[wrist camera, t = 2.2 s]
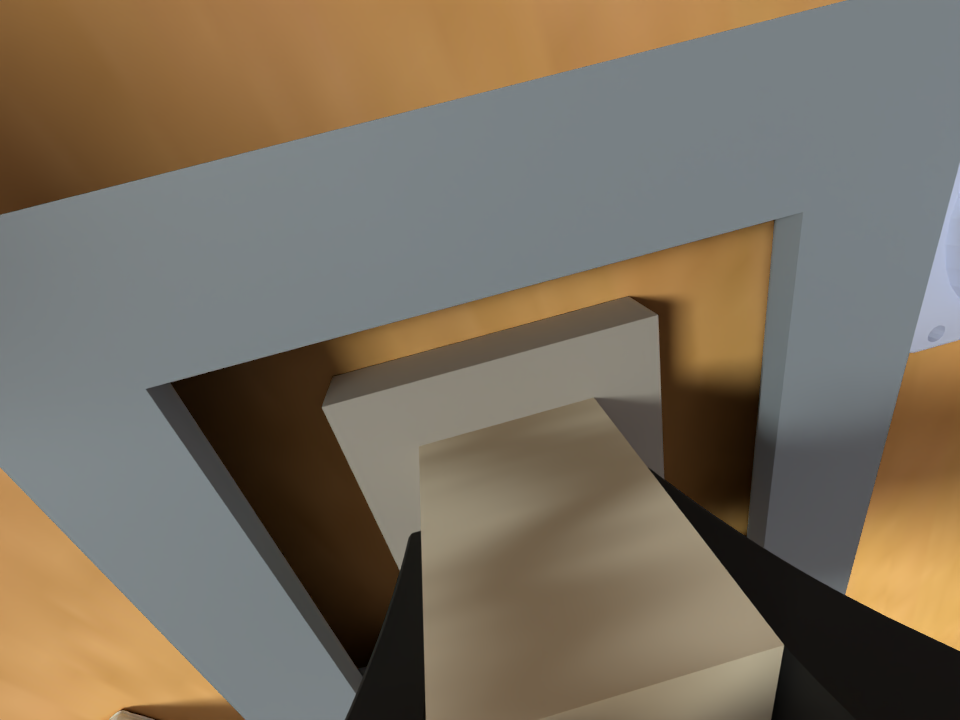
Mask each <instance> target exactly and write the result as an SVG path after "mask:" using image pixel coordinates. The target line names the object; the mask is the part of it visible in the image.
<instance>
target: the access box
mask: <svg viewBox="0 0 960 720" xmlns="http://www.w3.org/2000/svg"><path fill="white" fill-rule="evenodd" d="M959 163H960V0H847V1H843V2H839V3H835V4H831V5H827V6H823V7H819V8H815V9H811V10H807V11H803V12H799V13H795V14H791V15H787V16H784V17H780V18H776V19H772V20H768V21H764V22H760V23H756V24H752V25H748V26H744V27H740V28H736V29H732V30H728V31H724V32H720V33H716V34H712V35H708V36H705V37H701V38H697V39H693V40H689V41H685V42H681V43H677V44H673V45H669V46H665V47H661V48H657V49H653V50H649V51H645V52H641V53H637V54H633V55H630V56H626V57H622V58H618V59H614V60H610V61H606V62H602V63H598V64H594V65H590V66H586V67H582V68H578V69H574V70H570V71H566V72H562V73H558V74H555V75H551V76H547V77H543V78H539V79H535V80H531V81H527V82H523V83H519V84H515V85H511V86H507V87H503V88H499V89H495V90H491V91H487V92H483V93H480V94H476V95H472V96H468V97H464V98H460V99H456V100H452V101H448V102H444V103H440V104H436V105H432V106H428V107H424V108H420V109H416V110H412V111H408V112H404V113H401V114H397V115H393V116H389V117H385V118H381V119H377V120H373V121H369V122H365V123H361V124H357V125H353V126H349V127H345V128H341V129H337V130H333V131H329V132H326V133H322V134H318V135H314V136H310V137H306V138H302V139H298V140H294V141H290V142H286V143H282V144H278V145H274V146H270V147H266V148H262V149H258V150H254V151H251V152H247V153H243V154H239V155H235V156H231V157H227V158H223V159H219V160H215V161H211V162H207V163H203V164H199V165H195V166H191V167H187V168H183V169H179V170H176V171H172V172H168V173H164V174H160V175H156V176H152V177H148V178H144V179H140V180H136V181H132V182H128V183H124V184H120V185H116V186H112V187H108V188H104V189H100V190H97V191H93V192H89V193H85V194H81V195H77V196H73V197H69V198H65V199H61V200H57V201H53V202H49V203H45V204H41V205H37V206H33V207H29V208H25V209H22V210H18V211H14V212H10V213H6V214H2V215H0V468H1V469H2V470H3V471H4V472H5V473H6V474H7V475H8V476H9V477H10V478H11V479H12V480H13V481H14V482H15V483H16V484H17V485H18V486H19V487H20V488H21V489H22V490H23V491H24V492H25V493H26V494H27V495H28V496H29V497H30V498H31V499H32V500H33V501H34V503H35V504H36V505H37V506H38V507H39V508H40V509H41V510H42V511H43V512H44V513H45V514H46V515H47V516H48V517H49V518H50V519H51V520H52V521H53V522H54V523H55V524H56V525H57V526H58V527H59V528H60V529H61V530H62V531H63V532H64V533H65V534H66V535H67V537H68V538H69V539H70V540H71V541H72V542H73V543H74V544H75V545H76V546H77V547H78V548H79V549H80V550H81V551H82V552H83V553H84V554H85V555H86V556H87V557H88V558H89V559H90V560H91V561H92V562H93V563H94V564H95V565H96V566H97V567H98V568H99V569H100V570H101V572H102V573H103V574H104V575H105V576H106V577H107V578H108V579H109V580H110V581H111V582H112V583H113V584H114V585H115V586H116V587H117V588H118V589H119V590H120V591H121V592H122V593H123V594H124V595H125V596H126V597H127V598H128V599H129V600H130V601H131V602H132V603H133V604H134V605H135V607H136V608H137V609H138V610H139V611H140V612H141V613H142V614H143V615H144V616H145V617H146V618H147V619H148V620H149V621H150V622H151V623H152V624H153V625H154V626H155V627H156V628H157V629H158V630H159V631H160V632H161V633H162V634H163V635H164V636H165V637H166V638H167V639H168V640H169V642H170V643H171V644H172V645H173V646H174V647H175V648H176V649H177V650H178V651H179V652H180V653H181V654H182V655H183V656H184V657H185V658H186V659H187V660H188V661H189V662H190V663H191V664H192V665H193V666H194V667H195V668H196V669H197V670H198V671H199V672H200V673H201V674H202V676H203V677H204V678H205V679H206V680H207V681H208V682H209V683H210V684H211V685H212V686H213V687H214V688H215V689H216V690H217V691H218V692H219V693H220V694H221V695H222V696H223V697H224V698H225V699H226V700H227V701H228V702H229V703H230V704H231V705H232V706H233V707H234V708H235V709H236V711H237V712H238V713H239V714H240V715H241V716H242V717H243V718H244V719H245V720H345V718H346V716H347V714H348V711H349V709H350V707H351V705H352V702H353V700H354V697H355V695H356V693H357V690H358V688H359V686H360V683H361V681H362V678H363V676H364V673H365V670H366V668H367V666H366V667H362V668H359V669H357V668H356V666H355V665H354V663H353V662H352V660H351V658H350V657H349V655H348V654H347V652H346V651H345V649H344V648H343V646H342V645H341V643H340V642H339V640H338V639H337V637H336V636H335V634H334V632H333V631H332V629H331V628H330V626H329V625H328V623H327V622H326V620H325V619H324V617H323V616H322V614H321V613H320V611H319V610H318V608H317V606H316V605H315V603H314V602H313V600H312V599H311V597H310V596H309V594H308V593H307V591H306V590H305V588H304V587H303V585H302V584H301V582H300V581H299V579H298V577H297V576H296V574H295V573H294V571H293V570H292V568H291V567H290V565H289V564H288V562H287V561H286V559H285V558H284V556H283V555H282V553H281V551H280V550H279V548H278V547H277V545H276V544H275V542H274V541H273V539H272V538H271V536H270V535H269V533H268V532H267V530H266V529H265V527H264V525H263V524H262V522H261V521H260V519H259V518H258V516H257V515H256V513H255V512H254V510H253V509H252V507H251V506H250V504H249V503H248V501H247V500H246V498H245V496H244V495H243V493H242V492H241V490H240V489H239V487H238V486H237V484H236V483H235V481H234V480H233V478H232V477H231V475H230V474H229V472H228V470H227V469H226V467H225V466H224V464H223V463H222V461H221V460H220V458H219V457H218V455H217V454H216V452H215V451H214V449H213V448H212V446H211V444H210V443H209V441H208V440H207V438H206V437H205V435H204V434H203V432H202V431H201V429H200V428H199V426H198V425H197V423H196V422H195V420H194V419H193V417H192V415H191V414H190V412H189V411H188V409H187V408H186V406H185V405H184V403H183V402H182V400H181V399H180V397H179V396H178V394H177V393H176V391H175V389H174V388H173V386H172V385H171V383H170V382H174V381H177V380H181V379H185V378H188V377H192V376H196V375H200V374H203V373H207V372H211V371H214V370H218V369H222V368H226V367H229V366H233V365H237V364H240V363H244V362H248V361H252V360H255V359H259V358H263V357H266V356H270V355H274V354H278V353H281V352H285V351H289V350H292V349H296V348H300V347H304V346H307V345H311V344H315V343H318V342H322V341H326V340H330V339H333V338H337V337H341V336H344V335H348V334H352V333H356V332H359V331H363V330H367V329H370V328H374V327H378V326H382V325H385V324H389V323H393V322H396V321H400V320H404V319H408V318H411V317H415V316H419V315H422V314H426V313H430V312H434V311H437V310H441V309H445V308H448V307H452V306H456V305H460V304H463V303H467V302H471V301H474V300H478V299H482V298H486V297H489V296H493V295H497V294H500V293H504V292H508V291H512V290H515V289H519V288H523V287H526V286H530V285H534V284H538V283H541V282H545V281H549V280H552V279H556V278H560V277H564V276H567V275H571V274H575V273H578V272H582V271H586V270H590V269H593V268H597V267H601V266H604V265H608V264H612V263H616V262H619V261H623V260H627V259H630V258H634V257H638V256H642V255H645V254H649V253H653V252H656V251H660V250H664V249H668V248H671V247H675V246H679V245H682V244H686V243H690V242H694V241H697V240H701V239H705V238H708V237H712V236H716V235H720V234H723V233H727V232H731V231H734V230H738V229H742V228H746V227H749V226H753V225H757V224H760V223H764V222H768V221H772V220H775V221H774V232H773V244H772V255H771V266H770V278H769V289H768V301H767V312H766V323H765V335H764V346H763V357H762V369H761V380H760V391H759V403H758V414H757V425H756V437H755V448H754V460H753V471H752V482H751V494H750V505H749V516H748V528H747V538H749V539H750V540H752V541H754V542H755V543H757V544H758V545H760V546H761V547H763V548H765V549H766V550H768V551H770V552H771V553H773V554H774V555H776V556H778V557H779V558H781V559H783V560H784V561H786V562H787V563H789V564H791V565H793V566H794V567H796V568H798V569H799V570H801V571H803V572H804V573H806V574H808V575H810V576H811V577H813V578H815V579H817V580H818V581H820V582H822V583H824V584H826V585H828V586H829V587H831V588H833V589H835V590H837V591H839V592H840V593H842V594H844V595H845V593H846V589H847V585H848V582H849V578H850V574H851V570H852V567H853V563H854V559H855V555H856V551H857V548H858V544H859V540H860V536H861V533H862V529H863V525H864V521H865V518H866V514H867V510H868V506H869V502H870V499H871V495H872V491H873V487H874V484H875V480H876V476H877V472H878V469H879V465H880V461H881V457H882V454H883V450H884V446H885V442H886V438H887V435H888V431H889V427H890V423H891V420H892V416H893V412H894V408H895V405H896V401H897V397H898V393H899V389H900V386H901V382H902V378H903V374H904V371H905V367H906V363H907V359H908V356H909V352H910V348H911V344H912V341H913V337H914V333H915V329H916V325H917V322H918V318H919V314H920V310H921V307H922V303H923V299H924V295H925V292H926V288H927V284H928V280H929V276H930V273H931V269H932V265H933V261H934V258H935V254H936V250H937V246H938V243H939V239H940V235H941V231H942V227H943V224H944V220H945V216H946V212H947V209H948V205H949V201H950V197H951V194H952V190H953V186H954V182H955V179H956V175H957V171H958V167H959ZM590 398H595V400H596V401H597V402H598V404H599V405H600V406H601V407H602V409H603V410H604V411H605V413H606V414H607V415H608V417H609V418H610V419H611V420H612V422H613V423H614V424H615V426H616V427H617V428H618V430H619V431H620V432H621V434H622V435H623V436H624V437H625V439H626V440H627V441H628V443H629V444H630V445H631V447H632V448H633V449H634V450H635V452H636V453H637V454H638V456H639V457H640V458H641V460H642V461H643V462H644V463H645V465H646V466H647V467H648V468H650V469H652V470H653V471H654V472H655V473H657V474H658V475H659V476H661V477H662V478H663V479H664V458H663V431H662V404H661V377H660V351H659V324H658V315H657V314H656V313H654V312H653V311H651V310H649V309H648V308H646V307H645V306H643V305H641V304H640V303H638V302H637V301H635V300H634V299H632V298H630V297H629V296H628V297H624V298H620V299H617V300H613V301H609V302H606V303H602V304H598V305H595V306H591V307H587V308H584V309H580V310H576V311H573V312H569V313H565V314H562V315H558V316H554V317H551V318H547V319H543V320H540V321H536V322H532V323H528V324H525V325H521V326H517V327H514V328H510V329H506V330H503V331H499V332H495V333H492V334H488V335H484V336H481V337H477V338H473V339H470V340H466V341H462V342H459V343H455V344H451V345H448V346H444V347H440V348H437V349H433V350H429V351H426V352H422V353H418V354H415V355H411V356H407V357H404V358H400V359H396V360H393V361H389V362H385V363H382V364H378V365H374V366H370V367H367V368H363V369H359V370H356V371H352V372H348V373H345V374H341V375H337V376H334V377H332V380H331V383H330V386H329V388H328V391H327V394H326V397H325V399H324V402H323V405H322V409H323V411H324V413H325V415H326V417H327V420H328V422H329V424H330V426H331V428H332V430H333V432H334V434H335V436H336V438H337V440H338V443H339V445H340V447H341V449H342V451H343V453H344V455H345V457H346V459H347V461H348V463H349V466H350V468H351V470H352V472H353V474H354V476H355V478H356V480H357V482H358V484H359V486H360V489H361V491H362V493H363V495H364V497H365V499H366V501H367V503H368V505H369V507H370V509H371V512H372V514H373V516H374V518H375V520H376V522H377V524H378V526H379V528H380V530H381V532H382V535H383V537H384V539H385V541H386V543H387V545H388V547H389V549H390V551H391V553H392V555H393V558H394V560H395V562H396V564H397V566H398V568H399V570H400V569H401V565H402V562H403V558H404V554H405V550H406V546H407V542H408V538H409V536H410V535H411V533H414V532H418V531H421V509H420V470H419V446H422V445H425V444H429V443H433V442H436V441H440V440H443V439H447V438H451V437H454V436H458V435H461V434H465V433H468V432H472V431H476V430H479V429H483V428H486V427H490V426H493V425H497V424H501V423H504V422H508V421H511V420H515V419H519V418H522V417H526V416H529V415H533V414H536V413H540V412H544V411H547V410H551V409H554V408H558V407H561V406H565V405H569V404H572V403H576V402H579V401H583V400H587V399H590Z"/></svg>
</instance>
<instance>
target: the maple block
mask: <svg viewBox="0 0 960 720" xmlns="http://www.w3.org/2000/svg"><path fill="white" fill-rule="evenodd" d="M419 470H420V509H421V549H422V588H423V627H424V666H425V705H426V720H771V717H772V711H773V706H774V700H775V694H776V689H777V683H778V677H779V672H780V666H781V660H782V655H783V649H784V644H783V643H782V642H781V640H780V639H779V638H778V636H777V635H776V634H775V633H774V631H773V630H772V629H771V627H770V626H769V625H768V623H767V622H766V621H765V620H764V618H763V617H762V616H761V614H760V613H759V612H758V610H757V609H756V608H755V607H754V605H753V604H752V603H751V601H750V600H749V599H748V597H747V596H746V595H745V594H744V592H743V591H742V590H741V588H740V587H739V586H738V584H737V583H736V582H735V581H734V579H733V578H732V577H731V575H730V574H729V573H728V571H727V570H726V569H725V567H724V566H723V565H722V564H721V562H720V561H719V560H718V558H717V557H716V556H715V554H714V553H713V552H712V551H711V549H710V548H709V547H708V545H707V544H706V543H705V541H704V540H703V539H702V538H701V536H700V535H699V534H698V532H697V531H696V530H695V528H694V527H693V526H692V525H691V523H690V522H689V521H688V519H687V518H686V517H685V515H684V514H683V513H682V512H681V510H680V509H679V508H678V506H677V505H676V504H675V502H674V501H673V500H672V499H671V497H670V496H669V495H668V493H667V492H666V491H665V489H664V488H663V487H662V486H661V484H660V483H659V482H658V480H657V479H656V478H655V476H654V475H653V474H652V473H651V471H650V470H649V469H648V467H647V466H646V465H645V463H644V462H643V461H642V460H641V458H640V457H639V456H638V454H637V453H636V452H635V450H634V449H633V448H632V447H631V445H630V444H629V443H628V441H627V440H626V439H625V437H624V436H623V435H622V434H621V432H620V431H619V430H618V428H617V427H616V426H615V424H614V423H613V422H612V420H611V419H610V418H609V417H608V415H607V414H606V413H605V411H604V410H603V409H602V407H601V406H600V405H599V404H598V402H597V401H596V400H595V398H590V399H587V400H583V401H579V402H576V403H572V404H569V405H565V406H561V407H558V408H554V409H551V410H547V411H544V412H540V413H536V414H533V415H529V416H526V417H522V418H519V419H515V420H511V421H508V422H504V423H501V424H497V425H493V426H490V427H486V428H483V429H479V430H476V431H472V432H468V433H465V434H461V435H458V436H454V437H451V438H447V439H443V440H440V441H436V442H433V443H429V444H425V445H422V446H419Z"/></svg>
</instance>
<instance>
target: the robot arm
mask: <svg viewBox="0 0 960 720" xmlns="http://www.w3.org/2000/svg"><path fill="white" fill-rule="evenodd" d="M957 340H960V163H959V167H958V171H957V175H956V179H955V182H954V186H953V190H952V194H951V197H950V201H949V205H948V209H947V212H946V216H945V220H944V224H943V227H942V231H941V235H940V239H939V243H938V246H937V250H936V254H935V258H934V261H933V265H932V269H931V273H930V276H929V280H928V284H927V288H926V292H925V295H924V299H923V303H922V307H921V310H920V314H919V318H918V322H917V325H916V329H915V333H914V337H913V341H912V344H911V348H910V352H909V353H915V352H918V351H922V350H925V349H929V348H932V347H936V346H939V345H943V344H947V343H950V342H954V341H957ZM648 469H649V470H650V471H651V473H652V474H653V475H654V476H655V478H656V479H657V480H658V482H659V483H660V484H661V486H662V487H663V488H664V489H665V491H666V492H667V493H668V495H669V496H670V497H671V499H672V500H673V501H674V502H675V504H676V505H677V506H678V508H679V509H680V510H681V512H682V513H683V514H684V515H685V517H686V518H687V519H688V521H689V522H690V523H691V525H692V526H693V527H694V528H695V530H696V531H697V532H698V534H699V535H700V536H701V538H702V539H703V540H704V541H705V543H706V544H707V545H708V547H709V548H710V549H711V551H712V552H713V553H714V554H715V556H716V557H717V558H718V560H719V561H720V562H721V564H722V565H723V566H724V567H725V569H726V570H727V571H728V573H729V574H730V575H731V577H732V578H733V579H734V581H735V582H736V583H737V584H738V586H739V587H740V588H741V590H742V591H743V592H744V594H745V595H746V596H747V597H748V599H749V600H750V601H751V603H752V604H753V605H754V607H755V608H756V609H757V610H758V612H759V613H760V614H761V616H762V617H763V618H764V620H765V621H766V622H767V623H768V625H769V626H770V627H771V629H772V630H773V631H774V633H775V634H776V635H777V636H778V638H779V639H780V640H781V642H782V643H783V644H784V649H783V655H782V660H781V666H780V672H779V677H778V683H777V689H776V694H775V700H774V706H773V711H772V717H771V720H960V651H958V650H956V649H954V648H952V647H950V646H948V645H945V644H943V643H941V642H939V641H937V640H935V639H933V638H931V637H928V636H926V635H924V634H922V633H920V632H918V631H916V630H914V629H912V628H909V627H907V626H905V625H903V624H901V623H899V622H897V621H895V620H892V619H890V618H888V617H886V616H884V615H882V614H881V613H879V612H877V611H875V610H873V609H871V608H869V607H867V606H865V605H863V604H861V603H859V602H857V601H855V600H853V599H852V598H850V597H848V596H846V595H844V594H842V593H840V592H839V591H837V590H835V589H833V588H831V587H829V586H828V585H826V584H824V583H822V582H820V581H818V580H817V579H815V578H813V577H811V576H810V575H808V574H806V573H804V572H803V571H801V570H799V569H798V568H796V567H794V566H793V565H791V564H789V563H787V562H786V561H784V560H783V559H781V558H779V557H778V556H776V555H774V554H773V553H771V552H770V551H768V550H766V549H765V548H763V547H761V546H760V545H758V544H757V543H755V542H754V541H752V540H750V539H749V538H747V537H746V536H744V535H743V534H741V533H740V532H738V531H737V530H735V529H734V528H732V527H731V526H729V525H728V524H726V523H725V522H723V521H722V520H720V519H719V518H717V517H716V516H715V515H713V514H712V513H710V512H709V511H707V510H706V509H704V508H703V507H702V506H700V505H699V504H697V503H696V502H695V501H693V500H692V499H691V498H689V497H688V496H686V495H685V494H684V493H682V492H681V491H680V490H678V489H677V488H675V487H674V486H673V485H671V484H670V483H669V482H667V481H666V480H665V479H663V478H662V477H661V476H659V475H658V474H657V473H655V472H654V471H653V470H652V469H650V468H648ZM345 720H426V705H425V666H424V627H423V588H422V549H421V531H418V532H414V533H411V535H410V536H409V538H408V542H407V546H406V550H405V554H404V558H403V562H402V565H401V569H400V572H399V576H398V579H397V583H396V586H395V589H394V592H393V596H392V599H391V602H390V605H389V607H388V610H387V613H386V616H385V619H384V622H383V625H382V628H381V631H380V634H379V637H378V639H377V642H376V645H375V647H374V650H373V652H372V655H371V658H370V660H369V663H368V665H367V668H366V670H365V673H364V676H363V678H362V681H361V683H360V686H359V688H358V690H357V693H356V695H355V697H354V700H353V702H352V705H351V707H350V709H349V711H348V714H347V716H346V718H345Z"/></svg>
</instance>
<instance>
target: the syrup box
mask: <svg viewBox="0 0 960 720" xmlns="http://www.w3.org/2000/svg"><path fill="white" fill-rule="evenodd" d="M109 720H155V719H152V718H148V717H144V716H141V715H138V714H133V713H130V712H128V711H125V710H122V711H118V712H117V713H116V714H114V715H113V716H112V717H111V718H110V719H109Z"/></svg>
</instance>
